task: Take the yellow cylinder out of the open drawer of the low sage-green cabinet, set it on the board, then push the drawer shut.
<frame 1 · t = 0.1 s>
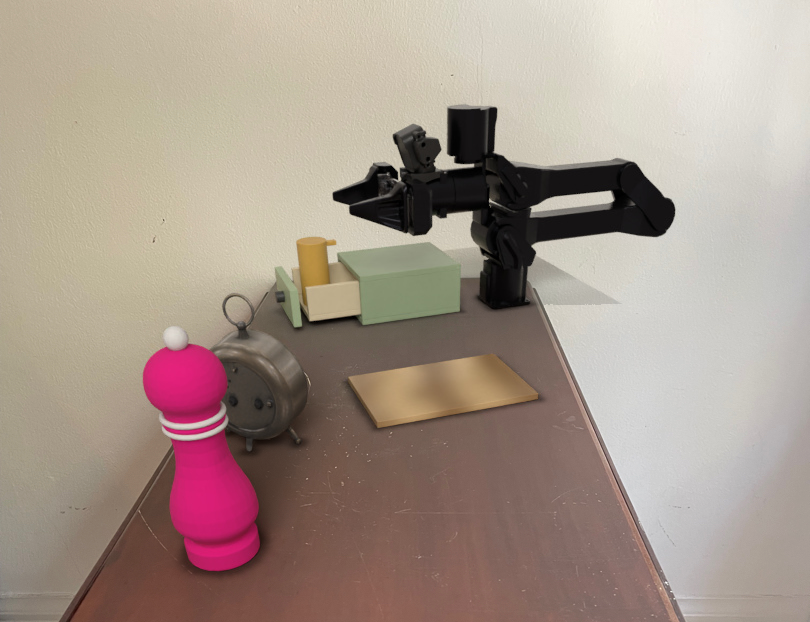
hand: (340, 203, 95), 17 cm above the table, tool horizontal, fingers open, 9 cm apart
board: (440, 390, 86), on the table
yellow cylinder: (317, 302, 107), point 2 cm above the table, touching drawer
pepper mill: (224, 551, 61), on the table
cabinet: (398, 304, 111), on the table
alarm clock: (260, 444, 76), on the table
drawer: (327, 290, 106), point 4 cm above the table, slide at 9.0 cm, touching yellow cylinder
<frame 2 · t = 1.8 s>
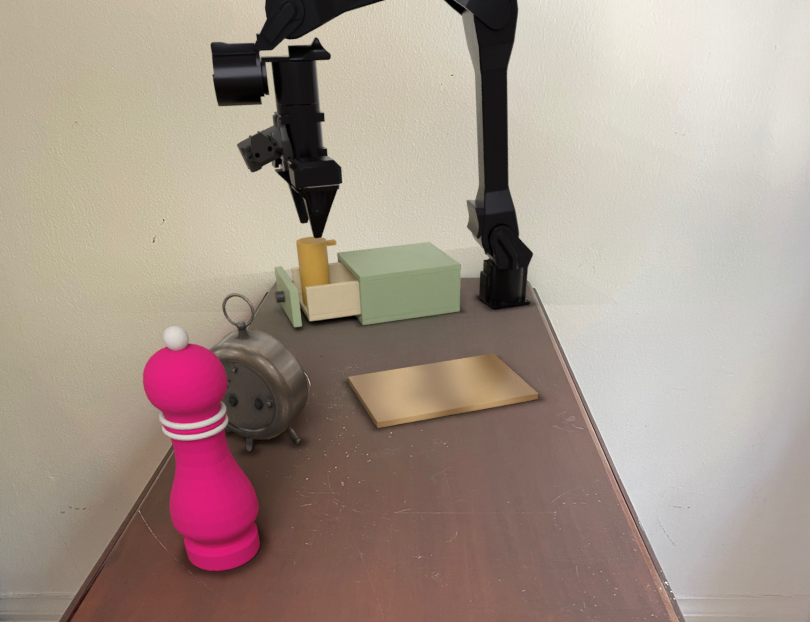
hand: (310, 230, 101), 12 cm above the table, tool pointing down, fingers open, 9 cm apart
nothing on the table moved.
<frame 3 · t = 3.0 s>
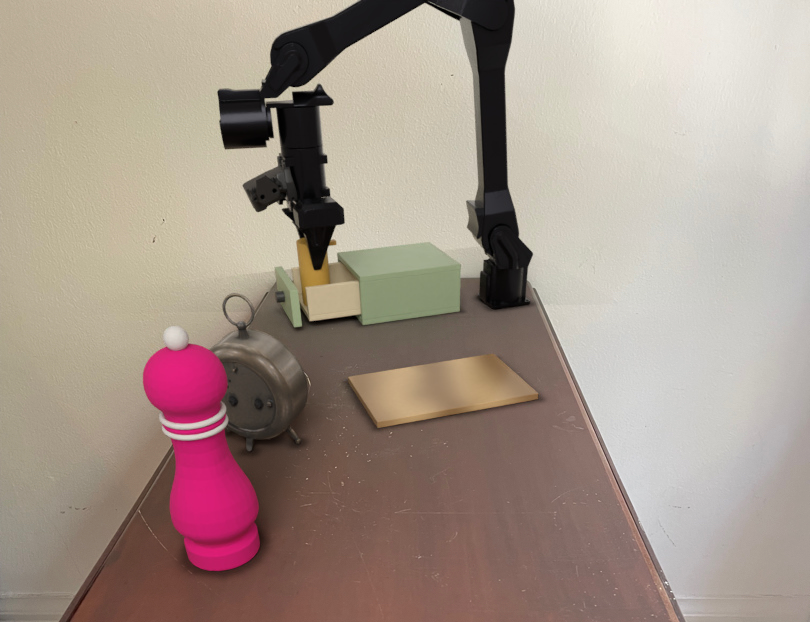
hand: (313, 265, 103), 8 cm above the table, tool pointing down, fingers closed on yellow cylinder, 4 cm apart
yellow cylinder: (317, 302, 107), point 2 cm above the table, touching drawer, gripper
everything else where it was.
when the fingers open (6 cm above the table, at t = 8.5 s): yellow cylinder stays where it is, resting on board.
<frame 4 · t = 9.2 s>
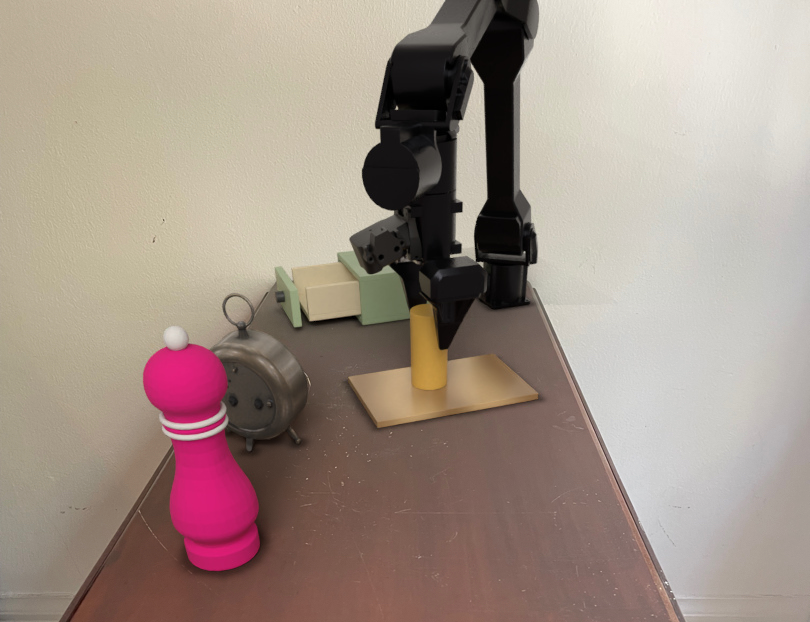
hand: (429, 335, 82), 7 cm above the table, tool pointing down, fingers open, 9 cm apart
yellow cylinder: (429, 382, 86), point 1 cm above the table, touching board
drawer: (327, 290, 106), point 4 cm above the table, slide at 9.0 cm
everything else where it was.
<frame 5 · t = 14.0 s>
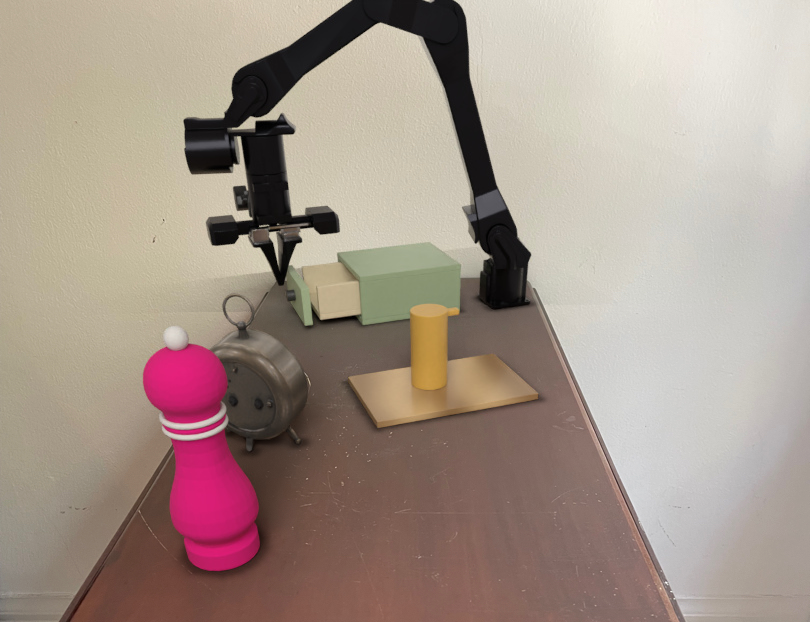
hand: (280, 285, 107), 4 cm above the table, tool pointing down, fingers closed
drawer: (337, 289, 107), point 4 cm above the table, slide at 7.4 cm, touching gripper
everything else where it was.
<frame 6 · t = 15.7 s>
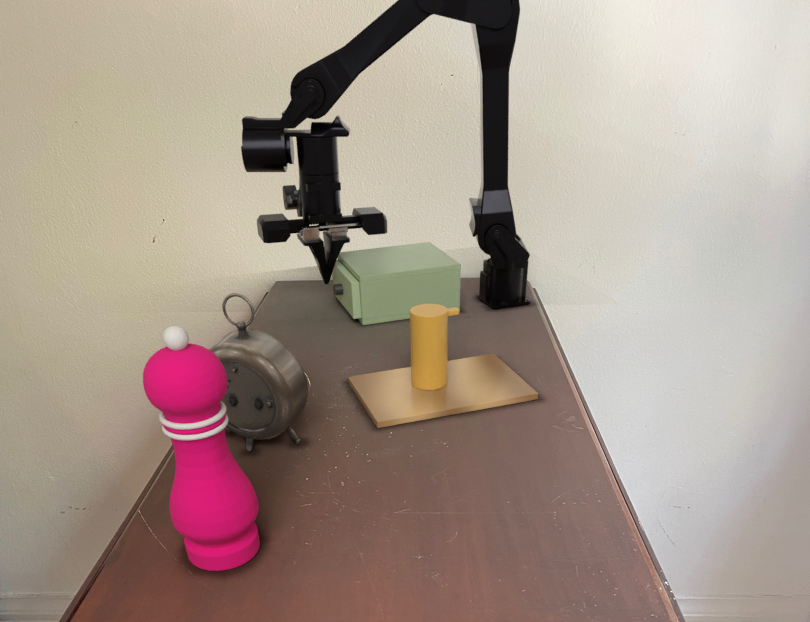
hand: (326, 283, 109), 4 cm above the table, tool pointing down, fingers closed
drawer: (383, 283, 108), point 4 cm above the table, slide at 0.0 cm, touching cabinet, gripper
everything else where it was.
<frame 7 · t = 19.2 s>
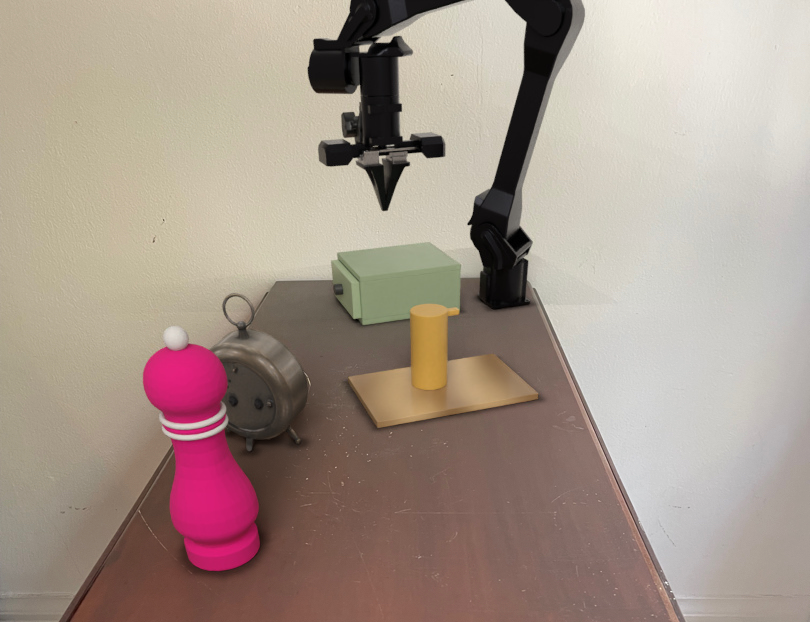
hand: (384, 210, 111), 12 cm above the table, tool pointing down, fingers closed
drawer: (383, 283, 108), point 4 cm above the table, slide at 0.0 cm
everything else where it was.
at the end: yellow cylinder inside the target area on the board (1.5 cm from its centre), point 0.8 cm above the board's base; yellow cylinder tilted 0°; drawer slide at 0.0 cm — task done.
